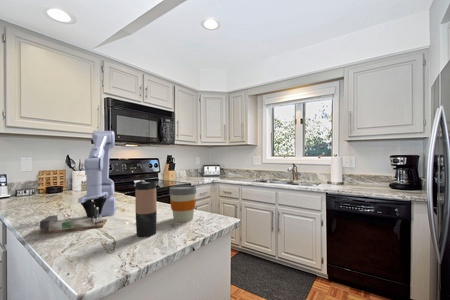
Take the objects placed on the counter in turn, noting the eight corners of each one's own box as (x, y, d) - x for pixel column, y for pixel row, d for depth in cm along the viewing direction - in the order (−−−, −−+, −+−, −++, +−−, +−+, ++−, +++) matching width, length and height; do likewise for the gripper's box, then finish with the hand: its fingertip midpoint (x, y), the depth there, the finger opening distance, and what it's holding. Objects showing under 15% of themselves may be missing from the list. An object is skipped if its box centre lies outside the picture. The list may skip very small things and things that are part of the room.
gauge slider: (101, 218, 98) (101, 205, 98) (97, 223, 90) (96, 209, 90) (91, 219, 97) (91, 206, 97) (86, 225, 89) (85, 210, 89)
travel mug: (161, 231, 85) (160, 180, 85) (148, 238, 78) (147, 183, 78) (145, 229, 87) (144, 180, 88) (131, 236, 80) (130, 183, 80)
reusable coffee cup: (192, 213, 109) (191, 184, 109) (200, 220, 98) (199, 187, 98) (167, 217, 104) (166, 186, 104) (172, 224, 92) (172, 190, 93)
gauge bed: (106, 221, 100) (106, 210, 100) (102, 227, 91) (102, 215, 91) (49, 227, 93) (49, 215, 93) (39, 234, 84) (39, 221, 84)
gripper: (98, 182, 102) (99, 211, 102) (71, 187, 88) (71, 220, 88) (111, 182, 101) (112, 211, 101) (86, 187, 87) (86, 221, 87)
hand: (94, 215), depth 94 cm, fingers open, 4 cm apart
